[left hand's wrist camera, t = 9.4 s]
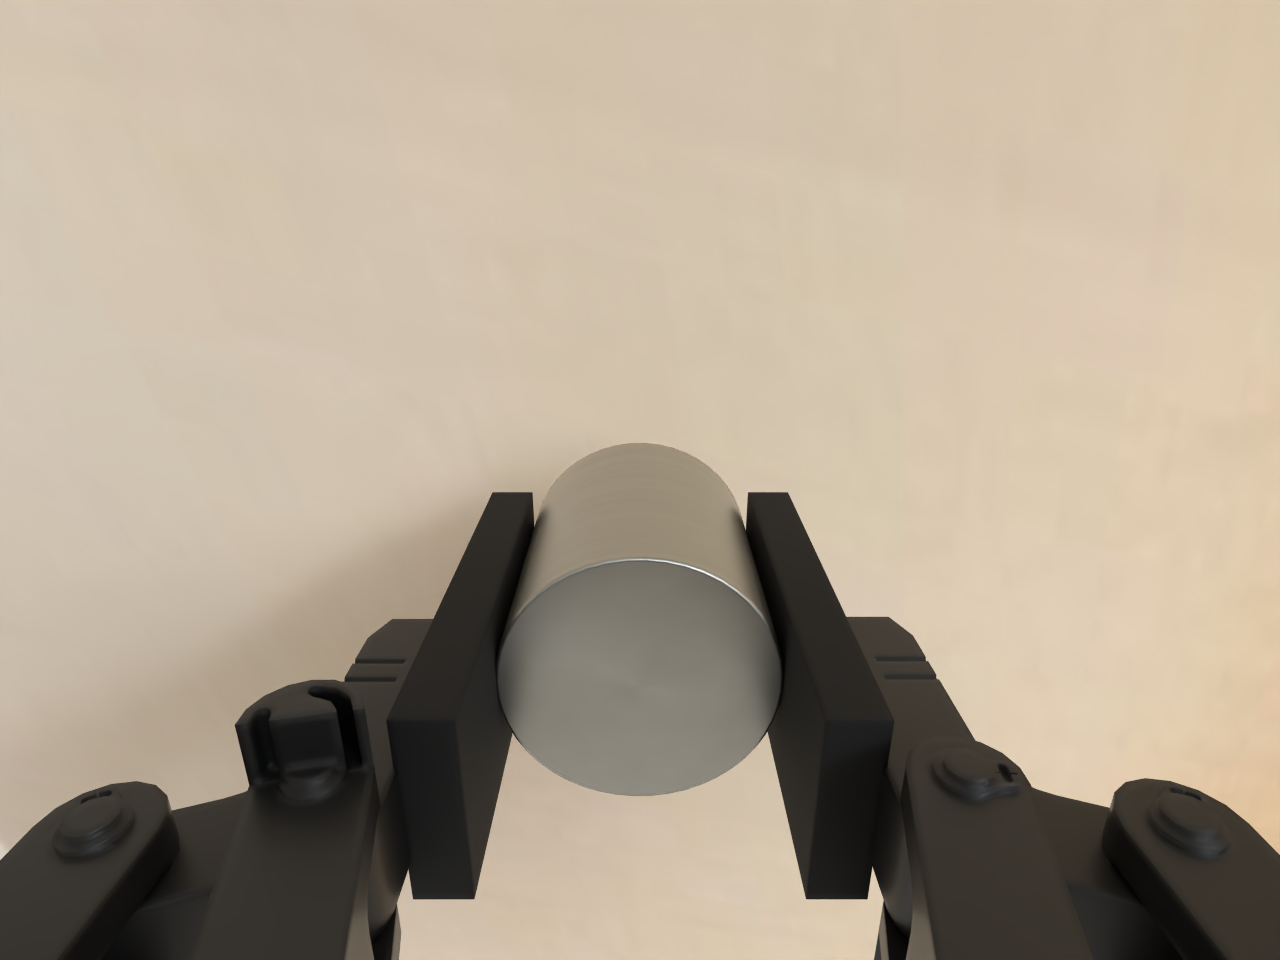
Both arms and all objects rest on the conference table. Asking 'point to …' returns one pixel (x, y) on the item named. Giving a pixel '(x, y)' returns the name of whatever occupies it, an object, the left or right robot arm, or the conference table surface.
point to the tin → (639, 628)
